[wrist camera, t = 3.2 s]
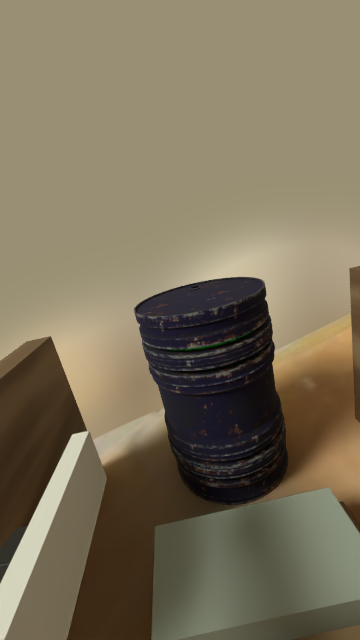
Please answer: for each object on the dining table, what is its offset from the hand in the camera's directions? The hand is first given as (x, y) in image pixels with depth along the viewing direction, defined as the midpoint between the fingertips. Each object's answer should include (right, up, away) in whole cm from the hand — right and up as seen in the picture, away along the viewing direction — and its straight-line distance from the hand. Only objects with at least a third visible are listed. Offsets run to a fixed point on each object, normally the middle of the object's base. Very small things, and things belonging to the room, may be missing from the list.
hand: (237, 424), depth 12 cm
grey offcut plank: (+2, -9, +3) cm, 10 cm away
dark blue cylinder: (+2, -8, +12) cm, 15 cm away
